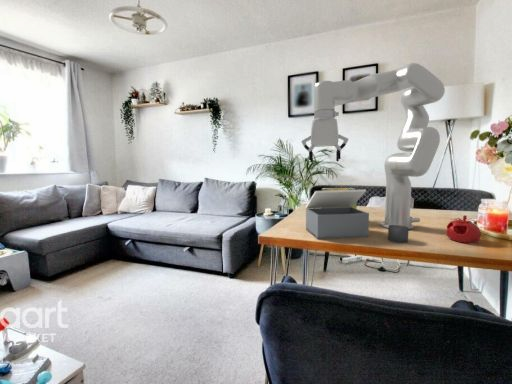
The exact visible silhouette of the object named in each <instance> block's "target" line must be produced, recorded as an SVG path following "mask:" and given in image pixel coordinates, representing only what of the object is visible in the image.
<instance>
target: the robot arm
mask: <svg viewBox="0 0 512 384" xmlns="http://www.w3.org/2000/svg"><path fill="white" fill-rule="evenodd" d="M313 88H314V89H313V98H314V99H313V102H314V103H313V106H314V107H313V108H314V109H313V111H314V112H313V114H314V115H313V116H314V117H313V120H312V121H311V129H310V130H311V131H310V136H308V137H306V138H304V139H302V140H301V144H302V145H303V148H305V150H307V152H308V160H309V161H310V163H313V162H314V152H313V150H314V149H315V148H317V147H318V148H320V147H321V148H323V147H334V148H336V152H335V154H336V162H339V161H340V160H341V151H342V150H343V149H344V148H345V147H346V145H347V143H348V141H349V138H348V137H346V136H343V135H341V134H339V127H338V120H337V118H336V117H339V116H340V114H339V113H340V111H336V110H335V109H336V107H337V106H341V105H345V104H349V103H354V102H356V101H357V102H358V101H362V100H368V99H372V98H376V97H379V96H384V95H385V96H386V95H389V94H394V93H396V92H400V91H403V92H402V93H401V96H400V102H401V104H402V107H403V108H404V111H405V114H406V115H405V117H406V118H405V121H404V124H403V126H402V128H401V131H400V134H399V137H398V138H397V142H396V146H397V148H398V149H399V150H400V151H401V152H396V153H393V154H390V155H388V157H386V159H385V160H384V173H385V203H384V205H385V206H384V207H385V209H384V220H383V221H381V222H380V226H381V227H383V228H385V229H388V227H389V225H402V226H406V227H408V228H409V230H412V229H414V224H413V223H419V222H421V219H420V217H413V216H411V202H412V201H411V200H412V183H411V179H410V178H409V177H413V178H414V177H415V178H417V177H418V178H419V177H422V176H424V175H426V174H427V172H429V170H430V168H431V166H432V163H433V161H434V158H435V156H436V154H437V151H438V149H439V145H440V141H441V137H440V136H441V135H440V133H439V131H438V130H437V129H436V128H434V127H432V126H428V125H429V122H430V115H429V113H428V111H427V110H426V108H425V106H426V105H429V104H435V103H436V102H438V101H440V100H441V99H442V98H443V97H444V95H445V92H446V91H445V89H446V87H445V85H444V83H443V82H442V80H441V79H439V77H438V76H435V74H433V73H432V72H431V71H430V70H429V69H428V68H426V67H425V66H423V65H421V64H419V63H417V62H411V63H409V64H406V65H403V66H402V67H398V68H396V69H392V70H387V71H384V72H378V73H373V74H370V75H367V76H364V77H362V78H360V79H358V80H355V81H352V80H350V79H349V80H347V79H346V80H338V81H332V80H320V81H318V82H316V83H315V84H314V86H313ZM339 139H340V140H342V141H343V142H342V144H341V145H339V144H338V143H339ZM309 141H310V147H309V146H308V144H307V142H309Z"/></svg>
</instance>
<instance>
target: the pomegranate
mask: <svg viewBox="0 0 512 384" xmlns="http://www.w3.org/2000/svg"><path fill="white" fill-rule="evenodd" d="M450 220H451V221H449V223H447V225H446V236H447V238H448V239H449V240H452V241H454V242H458V243H463V244H472V243H473V244H474V243H477V242H478V241H480V239H481V237H482V232H481V230H480V227H478V225H477V224H476V223H473V222H478V220H475V219H473V220H467V215H463V216H462V219H461V218H460V217H456V218H454V219H452V218H451V219H450Z"/></svg>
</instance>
